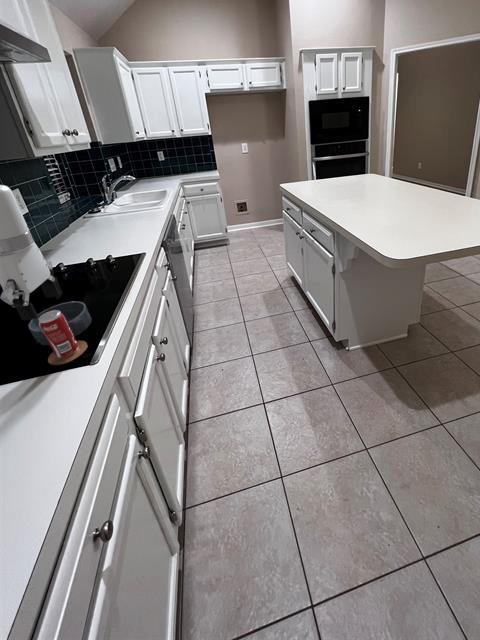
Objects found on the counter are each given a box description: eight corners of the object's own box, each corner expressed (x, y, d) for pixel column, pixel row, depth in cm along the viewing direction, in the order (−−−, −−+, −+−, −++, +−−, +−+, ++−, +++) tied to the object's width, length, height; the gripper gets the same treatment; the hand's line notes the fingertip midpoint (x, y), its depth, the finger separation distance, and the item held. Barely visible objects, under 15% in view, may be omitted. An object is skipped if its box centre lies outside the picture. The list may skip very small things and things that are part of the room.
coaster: (41, 368, 79) (40, 367, 79) (59, 344, 87) (59, 343, 87) (78, 362, 80) (77, 361, 80) (93, 339, 88) (92, 338, 88)
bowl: (30, 353, 85) (21, 337, 83) (44, 324, 97) (36, 309, 95) (88, 336, 89) (81, 321, 87) (95, 311, 101) (88, 296, 99)
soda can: (60, 348, 85) (41, 312, 80) (81, 343, 86) (64, 307, 81) (53, 361, 81) (33, 323, 75) (76, 355, 82) (57, 318, 77)
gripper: (18, 231, 77) (46, 291, 84) (-38, 261, 62) (1, 331, 69) (51, 227, 78) (75, 287, 85) (3, 256, 62) (38, 326, 70)
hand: (42, 307), depth 77 cm, fingers open, 9 cm apart
